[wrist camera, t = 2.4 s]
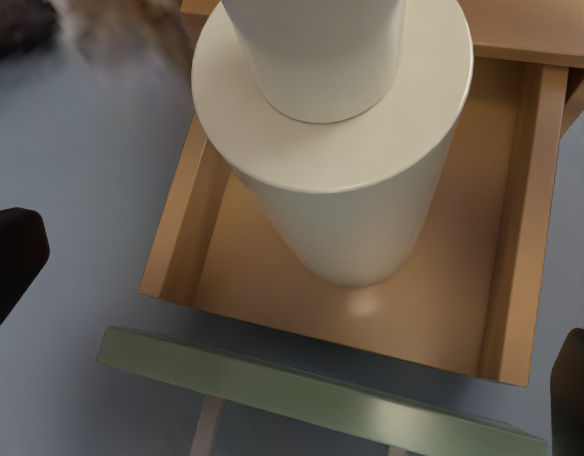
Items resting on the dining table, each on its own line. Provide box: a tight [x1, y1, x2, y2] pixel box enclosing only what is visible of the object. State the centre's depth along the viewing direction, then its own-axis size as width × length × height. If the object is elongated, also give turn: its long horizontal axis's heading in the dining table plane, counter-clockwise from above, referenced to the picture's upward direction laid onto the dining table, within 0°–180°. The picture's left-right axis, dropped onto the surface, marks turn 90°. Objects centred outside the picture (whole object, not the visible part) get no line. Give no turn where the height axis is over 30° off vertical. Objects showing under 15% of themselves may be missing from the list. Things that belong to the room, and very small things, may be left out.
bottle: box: [191, 0, 474, 288], centre depth 12 cm, size 5×5×14 cm
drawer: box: [96, 56, 569, 456], centre depth 17 cm, size 20×13×4 cm
